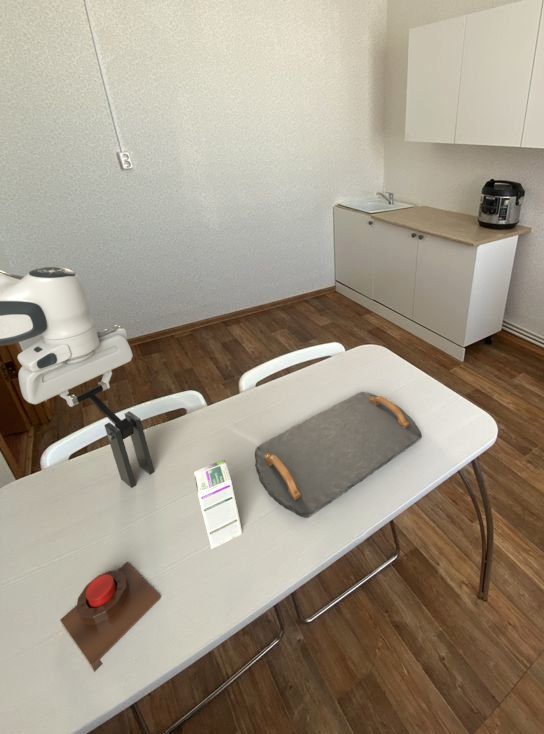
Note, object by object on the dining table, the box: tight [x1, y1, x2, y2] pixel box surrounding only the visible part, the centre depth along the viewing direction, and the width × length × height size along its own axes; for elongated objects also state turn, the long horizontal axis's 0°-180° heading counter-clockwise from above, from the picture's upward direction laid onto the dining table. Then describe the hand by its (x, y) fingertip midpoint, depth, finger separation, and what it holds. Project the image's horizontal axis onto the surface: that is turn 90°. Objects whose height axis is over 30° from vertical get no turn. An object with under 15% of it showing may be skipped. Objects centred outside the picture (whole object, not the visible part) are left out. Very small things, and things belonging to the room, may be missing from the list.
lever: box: [76, 385, 134, 441], centre depth 82 cm, size 16×5×2 cm, turn 57°
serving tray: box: [254, 391, 423, 519], centre depth 90 cm, size 39×23×6 cm, turn 129°
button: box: [86, 575, 116, 607], centre depth 60 cm, size 4×4×2 cm
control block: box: [59, 561, 161, 673], centre depth 59 cm, size 10×10×4 cm
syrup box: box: [193, 459, 243, 550], centre depth 70 cm, size 6×6×14 cm
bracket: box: [103, 410, 155, 489], centre depth 81 cm, size 10×8×16 cm
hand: (89, 396), depth 85 cm, fingers closed on lever, 5 cm apart
